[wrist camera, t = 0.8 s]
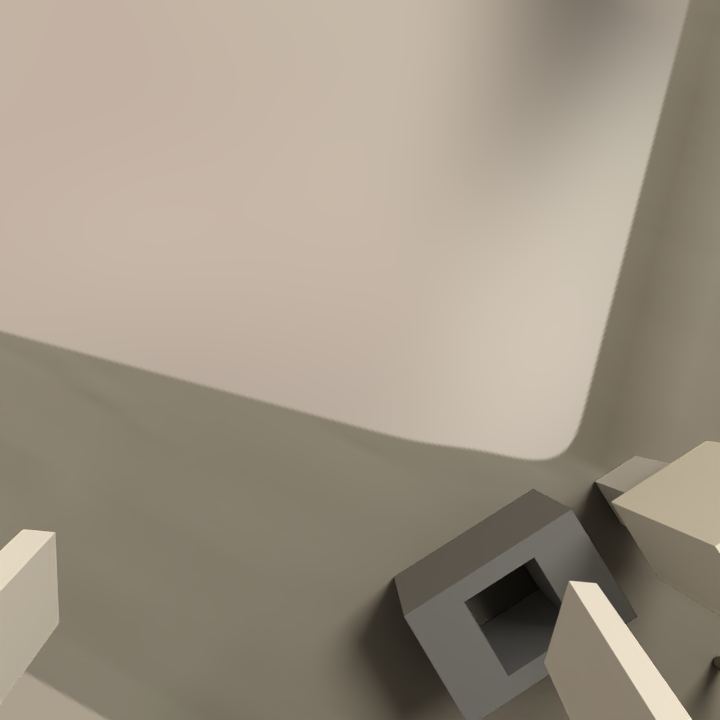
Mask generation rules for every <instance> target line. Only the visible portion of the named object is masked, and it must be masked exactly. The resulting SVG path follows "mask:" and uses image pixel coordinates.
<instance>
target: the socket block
mask: <svg viewBox="0 0 720 720" xmlns="http://www.w3.org/2000/svg"><path fill="white" fill-rule="evenodd" d="M523 564H524V565H525V567H526V568H527V570H528V572H529V573H530V575H531V577H532V578H533V580H534V582H535V583H536V585H537V587H538V588H539V589H538V590H537V591H535V592H534V593H532V594H530V595H529V596H527V597H526V598H524V599H523V600H521V601H520V602H518V603H516V604H515V605H513V606H512V607H510V608H509V609H507V610H506V611H504V612H503V613H501V614H499V615H498V616H496V617H495V618H493V619H492V620H490V621H489V622H487V623H485V624H484V625H482V626H481V627H480V625H479V624H478V622H477V620H476V619H475V617H474V615H473V614H472V612H471V610H470V609H469V607H468V605H467V604H466V602H465V601H467V600H468V599H470V598H471V597H473V596H474V595H476V594H478V593H479V592H481V591H482V590H484V589H485V588H487V587H488V586H490V585H492V584H493V583H495V582H496V581H498V580H499V579H501V578H502V577H504V576H506V575H507V574H509V573H510V572H512V571H513V570H515V569H517V568H518V567H520V566H521V565H523ZM394 579H395V583H396V587H397V591H398V595H399V599H400V603H401V607H402V610H403V614H404V617H405V619H406V621H407V622H408V624H409V626H410V627H411V629H412V631H413V632H414V634H415V636H416V637H417V639H418V641H419V643H420V644H421V646H422V648H423V649H424V651H425V653H426V654H427V656H428V658H429V659H430V661H431V663H432V664H433V666H434V668H435V670H436V671H437V673H438V675H439V676H440V678H441V680H442V681H443V683H444V685H445V686H446V688H447V690H448V692H449V693H450V695H451V697H452V698H453V700H454V702H455V703H456V705H457V707H458V708H459V710H460V712H461V713H462V715H463V717H464V719H465V720H481V719H482V718H484V717H485V716H487V715H488V714H490V713H491V712H493V711H494V710H496V709H498V708H499V707H501V706H502V705H504V704H505V703H507V702H508V701H510V700H511V699H513V698H514V697H516V696H517V695H519V694H520V693H522V692H523V691H525V690H526V689H528V688H529V687H531V686H532V685H534V684H536V683H537V682H539V681H540V680H542V679H543V678H545V677H546V676H548V675H549V672H548V670H547V668H546V666H545V664H544V661H545V658H546V655H547V651H548V648H549V645H550V641H551V638H552V635H553V631H554V628H555V625H556V622H557V618H558V615H559V612H560V608H561V605H562V602H563V598H564V595H565V592H566V588H567V585H568V582H569V581H577V582H588V583H597V585H598V586H599V587H600V589H601V590H602V592H603V593H604V595H605V596H606V597H607V599H608V600H609V602H610V603H611V605H612V606H613V607H614V609H615V610H616V612H617V613H618V615H619V616H620V617H621V619H622V620H623V622H624V623H625V624H627V623H628V622H630V621H631V620H633V619H634V618H636V617H637V615H636V613H635V612H634V610H633V608H632V607H631V605H630V603H629V602H628V600H627V599H626V597H625V595H624V594H623V592H622V590H621V589H620V587H619V586H618V584H617V582H616V581H615V579H614V577H613V576H612V574H611V573H610V571H609V569H608V568H607V566H606V564H605V563H604V561H603V559H602V558H601V556H600V555H599V553H598V551H597V550H596V548H595V546H594V545H593V543H592V542H591V540H590V538H589V537H588V535H587V533H586V532H585V530H584V529H583V527H582V525H581V524H580V522H579V520H578V519H577V517H576V515H575V514H574V512H573V511H572V509H570V508H568V507H566V506H565V505H563V504H561V503H559V502H557V501H555V500H553V499H551V498H550V497H548V496H546V495H544V494H542V493H540V492H538V491H536V490H534V489H533V490H531V491H530V492H528V493H526V494H525V495H523V496H522V497H520V498H518V499H517V500H515V501H514V502H512V503H511V504H509V505H507V506H506V507H504V508H503V509H501V510H499V511H498V512H496V513H495V514H493V515H492V516H490V517H488V518H487V519H485V520H484V521H482V522H480V523H479V524H477V525H476V526H474V527H473V528H471V529H469V530H468V531H466V532H465V533H463V534H461V535H460V536H458V537H457V538H455V539H454V540H452V541H450V542H449V543H447V544H446V545H444V546H442V547H441V548H439V549H438V550H436V551H434V552H433V553H431V554H430V555H428V556H427V557H425V558H423V559H422V560H420V561H419V562H417V563H415V564H414V565H412V566H411V567H409V568H408V569H406V570H404V571H403V572H401V573H400V574H398V575H396V576H395V577H394Z"/></svg>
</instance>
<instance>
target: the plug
mask: <svg viewBox="0 0 720 720" xmlns="http://www.w3.org/2000/svg"><path fill="white" fill-rule="evenodd" d="M595 482H596V484H597V486H598V487H599V489H600V491H601V492H602V494H603V495H604V497H605V499H606V500H607V502H608V504H609V505H610V507H611V508H612V510H613V512H614V513H615V515H616V516H617V518H618V520H619V521H620V523H621V524H622V525H624V526H626V527H627V529H628V530H629V532H630V534H631V535H632V537H633V538H634V540H635V542H636V543H637V545H638V547H639V548H640V550H641V551H642V553H643V555H644V556H645V558H646V559H647V561H648V563H649V564H650V566H651V568H652V569H653V571H654V572H655V574H656V576H657V577H658V579H660V580H662V581H663V582H665V583H667V584H668V585H670V586H671V587H673V588H675V589H676V590H678V591H680V592H681V593H683V594H685V595H686V596H688V597H690V598H691V599H693V600H695V601H696V602H698V603H700V604H701V605H703V606H704V607H706V608H708V609H709V610H711V611H713V612H714V613H716V614H718V615H719V616H720V443H718V442H711V441H705V442H704V443H702V444H701V445H699V446H698V447H696V448H694V449H693V450H691V451H690V452H688V453H687V454H685V455H684V456H682V457H680V458H679V459H677V460H676V461H674V462H673V463H671V464H669V463H664V462H660V461H656V460H651V459H647V458H642V457H638V456H634V457H633V458H631V459H629V460H628V461H626V462H625V463H623V464H622V465H620V466H618V467H617V468H615V469H614V470H612V471H610V472H609V473H607V474H606V475H604V476H603V477H601V478H599V479H598V480H596V481H595Z"/></svg>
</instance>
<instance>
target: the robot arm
mask: <svg viewBox="0 0 720 720" xmlns="http://www.w3.org/2000/svg"><path fill="white" fill-rule="evenodd" d="M58 624H59V609H58V585H57V561H56V536H55V532H46V531H35V530H25V529H23V530H22V531H21V532H20V533H19V534H18V535H17V536H15V537H14V538H13V539H12V540H11V541H10V542H9V543H8V544H7V545H6V546H5V547H4V548H3V549H2V550H1V551H0V705H1V704H2V702H3V701H4V699H5V698H6V697H7V695H8V694H9V692H10V691H11V690H12V688H13V687H14V685H15V684H16V682H17V681H18V680H19V678H20V677H21V676H22V674H23V673H24V671H25V670H26V669H27V667H28V666H29V664H30V663H31V662H32V660H33V659H34V657H35V656H36V655H37V653H38V652H39V650H40V649H41V648H42V646H43V645H44V643H45V642H46V641H47V639H48V638H49V636H50V635H51V634H52V632H53V631H54V629H55V628H56V627H57V625H58ZM544 664H545V666H546V668H547V670H548V672H549V675H550V677H551V679H552V681H553V684H554V686H555V688H556V690H557V692H558V695H559V697H560V699H561V701H562V703H563V706H564V708H565V710H566V712H567V714H568V717H569V719H570V720H692V719H691V717H690V716H689V715H688V713H687V712H686V710H685V709H684V707H683V706H682V705H681V703H680V702H679V700H678V699H677V697H676V696H675V695H674V693H673V692H672V690H671V689H670V687H669V686H668V685H667V683H666V682H665V680H664V679H663V677H662V676H661V675H660V673H659V672H658V670H657V669H656V667H655V666H654V665H653V663H652V662H651V660H650V659H649V657H648V656H647V655H646V653H645V652H644V650H643V649H642V647H641V646H640V645H639V643H638V642H637V640H636V639H635V637H634V636H633V635H632V633H631V632H630V630H629V629H628V627H627V626H626V625H625V623H624V622H623V620H622V619H621V617H620V616H619V615H618V613H617V612H616V610H615V609H614V607H613V606H612V605H611V603H610V602H609V600H608V599H607V597H606V596H605V595H604V593H603V592H602V590H601V589H600V587H599V586H598V585H597V583H588V582H577V581H569V582H568V585H567V588H566V592H565V595H564V598H563V602H562V605H561V608H560V612H559V615H558V618H557V622H556V625H555V628H554V631H553V635H552V638H551V641H550V645H549V648H548V651H547V655H546V658H545V661H544Z"/></svg>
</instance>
